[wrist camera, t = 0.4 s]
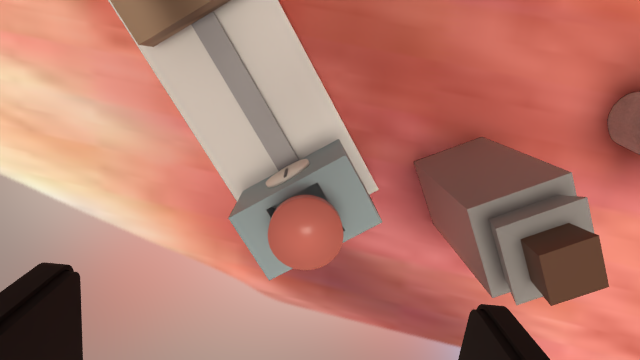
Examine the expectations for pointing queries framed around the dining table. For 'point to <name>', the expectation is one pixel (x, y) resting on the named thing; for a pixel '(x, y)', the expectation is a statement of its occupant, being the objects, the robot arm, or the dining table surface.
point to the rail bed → (249, 92)
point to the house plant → (626, 122)
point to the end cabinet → (304, 179)
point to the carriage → (161, 17)
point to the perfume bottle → (513, 221)
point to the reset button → (305, 232)
